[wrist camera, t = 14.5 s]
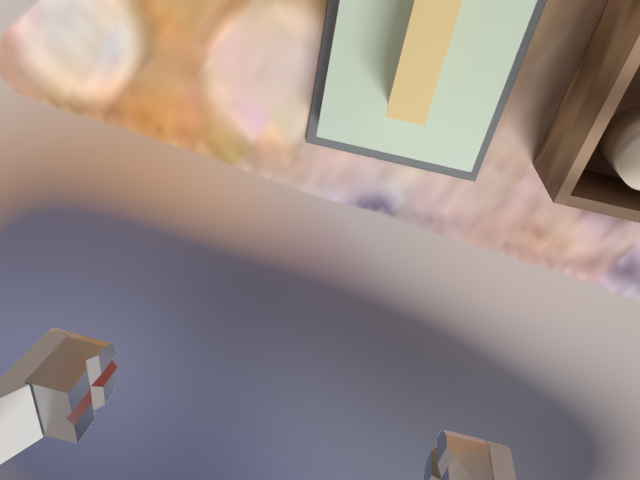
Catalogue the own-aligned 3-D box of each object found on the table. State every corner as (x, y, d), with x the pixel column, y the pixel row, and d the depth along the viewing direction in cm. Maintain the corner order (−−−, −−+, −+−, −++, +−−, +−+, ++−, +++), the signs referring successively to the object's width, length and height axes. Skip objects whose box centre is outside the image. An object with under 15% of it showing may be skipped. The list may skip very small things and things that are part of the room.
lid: (364, -116, 30) (353, -128, 26) (558, -78, 30) (585, -83, 25) (321, 128, 40) (307, 151, 35) (468, 162, 39) (475, 191, 34)
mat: (353, -150, 30) (352, -151, 29) (586, -105, 29) (588, -105, 29) (306, 140, 41) (305, 142, 40) (474, 180, 40) (474, 181, 40)
